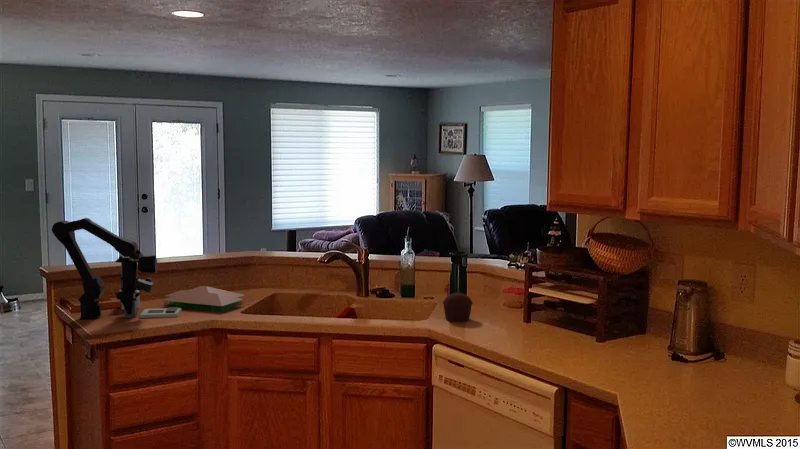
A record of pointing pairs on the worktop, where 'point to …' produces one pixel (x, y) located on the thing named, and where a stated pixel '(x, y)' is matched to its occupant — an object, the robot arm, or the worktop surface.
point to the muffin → (457, 307)
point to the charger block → (134, 310)
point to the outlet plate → (161, 312)
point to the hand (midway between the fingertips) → (130, 313)
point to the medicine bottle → (136, 299)
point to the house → (204, 298)
